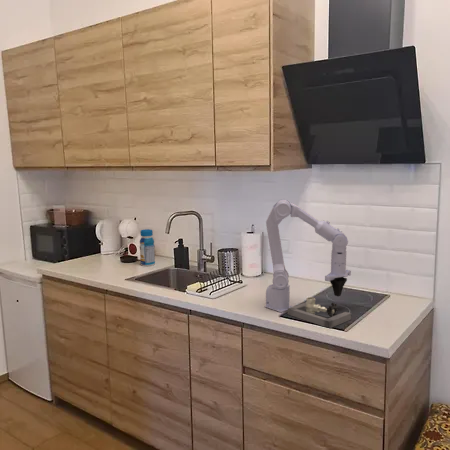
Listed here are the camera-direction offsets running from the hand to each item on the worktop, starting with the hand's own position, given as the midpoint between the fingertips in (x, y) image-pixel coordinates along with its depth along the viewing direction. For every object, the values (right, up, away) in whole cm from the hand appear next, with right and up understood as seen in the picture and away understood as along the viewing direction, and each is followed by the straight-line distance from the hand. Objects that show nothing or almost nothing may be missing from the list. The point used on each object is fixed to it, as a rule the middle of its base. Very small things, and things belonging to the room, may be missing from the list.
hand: (337, 295), depth 188 cm
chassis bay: (-9, -7, -7) cm, 13 cm away
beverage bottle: (-89, +5, +81) cm, 121 cm away
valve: (-8, -7, -6) cm, 13 cm away
